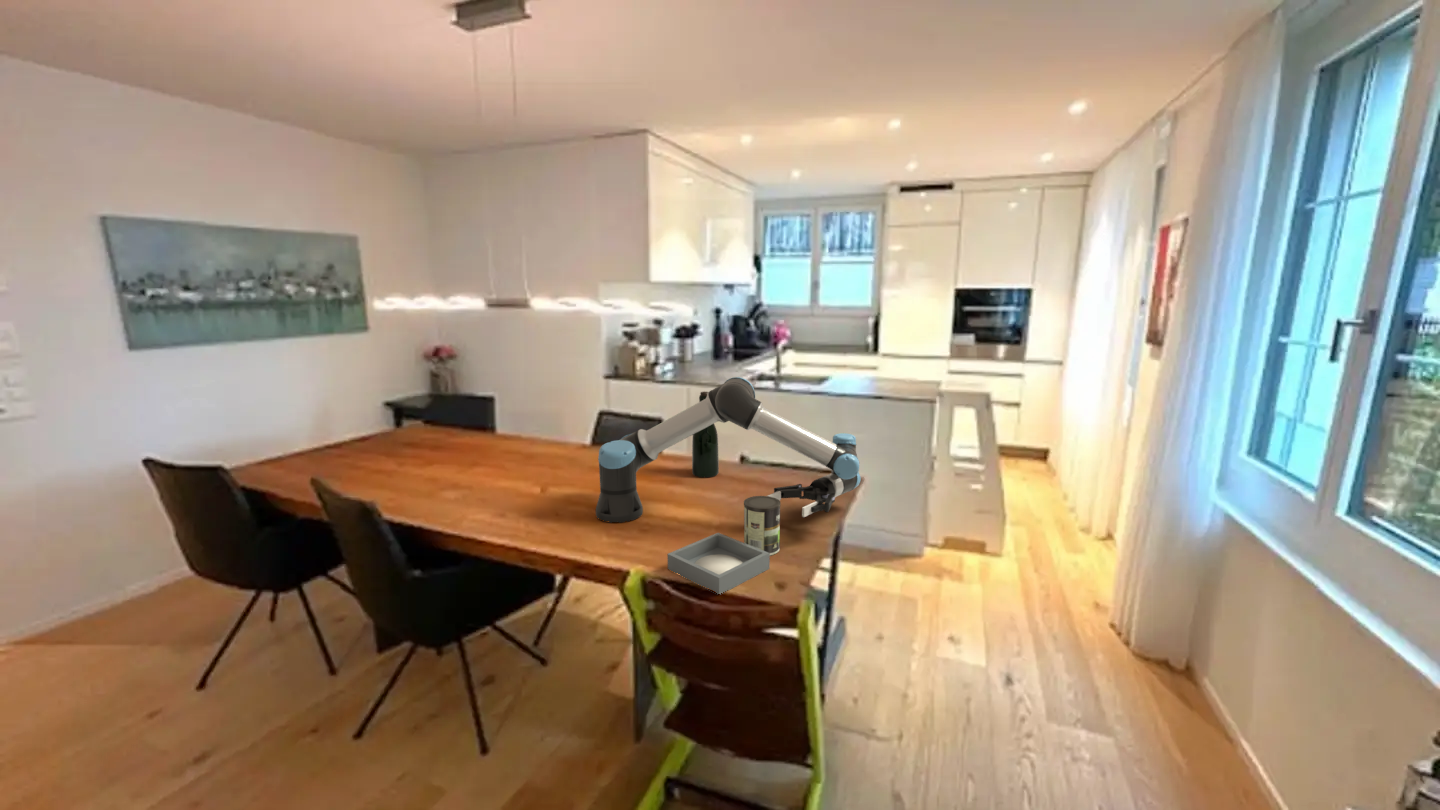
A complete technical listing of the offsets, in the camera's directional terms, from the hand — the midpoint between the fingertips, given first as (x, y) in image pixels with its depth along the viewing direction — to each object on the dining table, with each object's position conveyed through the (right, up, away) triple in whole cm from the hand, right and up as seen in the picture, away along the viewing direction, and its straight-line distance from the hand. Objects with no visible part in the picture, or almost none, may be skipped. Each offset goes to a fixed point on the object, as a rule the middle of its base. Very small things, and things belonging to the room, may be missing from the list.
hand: (784, 506), depth 177 cm
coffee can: (-7, -11, -5) cm, 14 cm away
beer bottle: (-24, +2, +62) cm, 66 cm away
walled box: (-19, -14, -17) cm, 29 cm away
